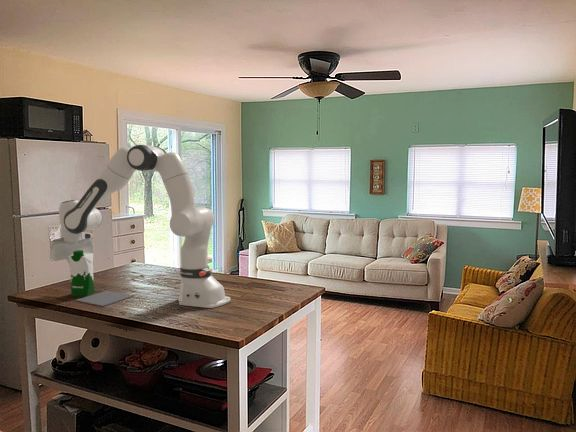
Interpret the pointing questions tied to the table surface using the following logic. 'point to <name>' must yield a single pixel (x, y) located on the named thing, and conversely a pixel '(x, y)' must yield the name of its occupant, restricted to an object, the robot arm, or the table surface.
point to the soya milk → (81, 273)
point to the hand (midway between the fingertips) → (73, 267)
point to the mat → (104, 298)
